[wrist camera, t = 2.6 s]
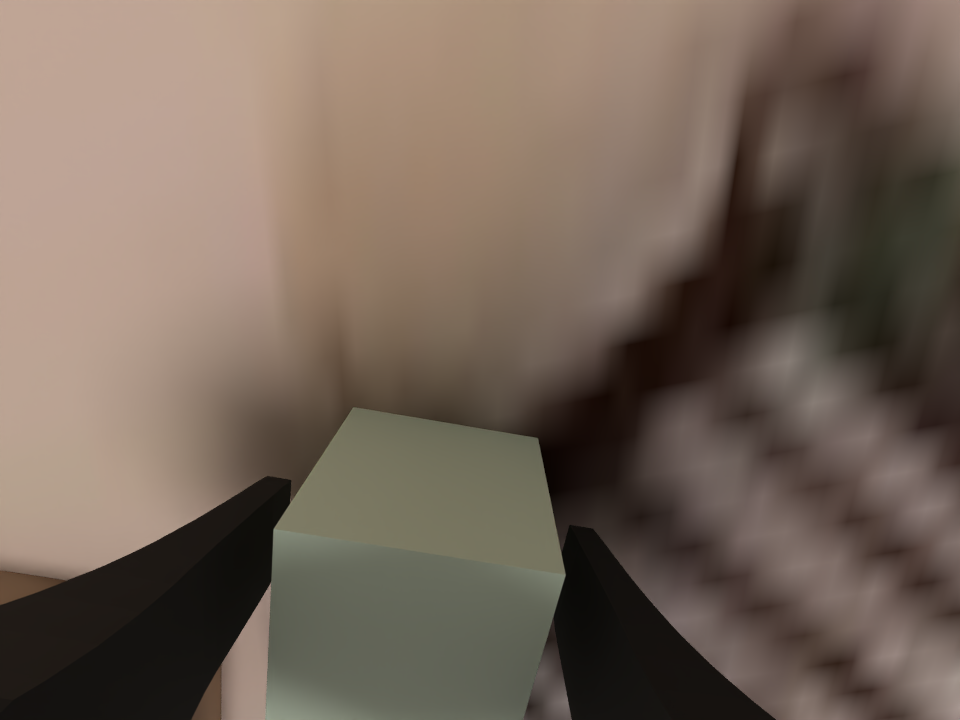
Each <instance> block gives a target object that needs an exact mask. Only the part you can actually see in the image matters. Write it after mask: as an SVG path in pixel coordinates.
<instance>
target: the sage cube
mask: <svg viewBox="0 0 960 720" xmlns="http://www.w3.org/2000/svg"><path fill="white" fill-rule="evenodd" d="M565 575H566V574H565V569H564V564H563V559H562V554H561V550H560V545H559V540H558V535H557V530H556V525H555V520H554V515H553V510H552V505H551V500H550V495H549V490H548V485H547V480H546V475H545V471H544V466H543V461H542V456H541V451H540V446H539V441H538V438H535V437H529V436H523V435H517V434H511V433H505V432H499V431H493V430H487V429H481V428H475V427H469V426H463V425H457V424H451V423H445V422H440V421H434V420H428V419H422V418H416V417H410V416H404V415H398V414H392V413H386V412H380V411H374V410H368V409H362V408H356V407H353V408H352V410H351V411H350V413H349V415H348V416H347V418H346V419H345V421H344V422H343V424H342V425H341V427H340V428H339V430H338V431H337V433H336V434H335V436H334V437H333V439H332V441H331V442H330V444H329V445H328V447H327V448H326V450H325V451H324V453H323V454H322V456H321V457H320V459H319V460H318V462H317V463H316V465H315V467H314V468H313V470H312V471H311V473H310V474H309V476H308V477H307V479H306V480H305V482H304V483H303V485H302V486H301V488H300V489H299V491H298V492H297V494H296V496H295V497H294V499H293V500H292V502H291V503H290V505H289V506H288V508H287V509H286V511H285V512H284V514H283V515H282V517H281V518H280V520H279V522H278V523H277V525H276V526H275V528H274V532H273V555H272V579H271V602H270V625H269V648H268V671H267V694H266V718H265V720H523V718H524V714H525V711H526V708H527V704H528V701H529V698H530V694H531V691H532V687H533V684H534V681H535V677H536V674H537V670H538V667H539V664H540V660H541V657H542V653H543V650H544V647H545V643H546V640H547V636H548V633H549V630H550V626H551V623H552V619H553V616H554V613H555V609H556V606H557V602H558V599H559V596H560V592H561V589H562V585H563V582H564V579H565Z"/></svg>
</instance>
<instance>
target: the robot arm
mask: <svg viewBox="0 0 960 720" xmlns="http://www.w3.org/2000/svg"><path fill="white" fill-rule="evenodd" d="M290 492H291V480H288V479H281V478H275V477H269V476H267V477H265V478H263V479H261V480H260V481H258V482H256V483H255V484H253V485H252V486H250V487H248V488H247V489H245V490H244V491H242V492H240V493H239V494H237V495H235V496H234V497H232V498H231V499H229V500H227V501H226V502H224V503H222V504H221V505H219V506H217V507H216V508H214V509H212V510H211V511H209V512H207V513H206V514H204V515H202V516H201V517H199V518H197V519H196V520H194V521H192V522H190V523H188V524H187V525H185V526H183V527H181V528H179V529H177V530H175V531H174V532H172V533H170V534H168V535H166V536H164V537H163V538H161V539H159V540H157V541H155V542H153V543H151V544H149V545H147V546H145V547H143V548H141V549H139V550H137V551H135V552H133V553H131V554H129V555H127V556H124V557H122V558H120V559H118V560H116V561H113V562H111V563H109V564H107V565H105V566H102V567H100V568H98V569H95V570H93V571H90V572H88V573H85V574H83V575H80V576H78V577H75V578H73V579H70V580H67V581H65V582H62V583H60V584H57V585H55V586H52V587H50V588H47V589H44V590H42V591H39V592H36V593H34V594H31V595H28V596H25V597H22V598H19V599H16V600H13V601H10V602H8V603H5V604H2V605H0V720H191V719H192V717H193V715H194V713H195V711H196V709H197V707H198V705H199V703H200V701H201V699H202V697H203V695H204V693H205V691H206V690H207V688H208V686H209V684H210V683H211V681H212V679H213V677H214V675H215V674H216V672H217V670H218V669H219V667H220V665H221V664H222V662H223V660H224V659H225V657H226V656H227V654H228V652H229V651H230V649H231V647H232V646H233V644H234V643H235V641H236V639H237V638H238V636H239V634H240V633H241V631H242V629H243V628H244V626H245V625H246V623H247V621H248V620H249V618H250V616H251V615H252V613H253V612H254V610H255V608H256V607H257V605H258V603H259V602H260V600H261V598H262V597H263V595H264V593H265V592H266V590H267V588H268V587H269V585H270V583H271V579H272V555H273V532H274V528H275V526H276V525H277V523H278V522H279V520H280V518H281V517H282V515H283V514H284V512H285V511H286V509H287V508H288V506H289V505H290ZM562 559H563V564H564V569H565V574H566V575H565V579H564V582H563V585H562V589H561V592H560V596H559V599H558V602H557V606H556V609H555V613H554V624H555V632H556V637H557V643H558V648H559V654H560V659H561V665H562V670H563V675H564V680H565V686H566V691H567V696H568V702H569V707H570V712H571V718H572V720H776V719H774V718H773V717H772V716H771V715H769V714H768V713H767V712H766V711H764V710H763V709H762V708H761V707H759V706H758V705H757V704H756V703H754V702H753V701H752V700H751V699H750V698H748V697H747V696H746V695H745V694H744V693H743V692H742V691H740V690H739V689H738V688H737V687H736V686H735V685H733V684H732V683H731V682H730V681H729V680H728V679H726V678H725V677H724V676H723V675H722V674H721V673H720V672H719V671H717V670H716V669H715V668H714V667H713V666H712V665H711V664H710V663H709V662H708V661H707V660H706V659H705V658H704V657H703V656H701V655H700V654H699V653H698V652H697V651H696V650H695V649H694V648H693V647H692V646H691V645H690V644H689V643H688V642H687V641H686V640H685V639H684V638H683V637H682V636H681V635H680V634H679V633H678V632H677V631H676V630H675V628H674V627H673V626H672V625H671V624H670V623H669V622H668V621H667V620H666V619H665V617H664V616H663V615H662V614H661V613H660V612H659V611H658V610H657V609H656V607H655V606H654V605H653V604H652V603H651V602H650V600H649V599H648V598H647V597H646V596H645V595H644V593H643V592H642V591H641V590H640V589H639V587H638V586H637V585H636V584H635V582H634V581H633V580H632V579H631V577H630V576H629V575H628V574H627V572H626V571H625V570H624V568H623V567H622V566H621V565H620V563H619V562H618V561H617V559H616V558H615V557H614V555H613V554H612V553H611V552H610V550H609V549H608V548H607V546H606V545H605V544H604V542H603V541H602V540H601V538H600V537H599V536H598V534H597V533H596V532H595V531H594V529H591V528H585V527H579V526H573V525H570V526H569V530H568V533H567V537H566V540H565V544H564V547H563V551H562Z"/></svg>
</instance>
